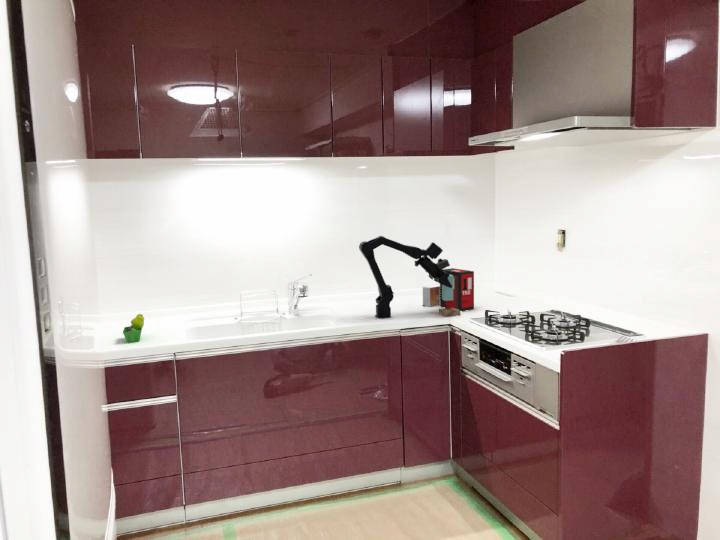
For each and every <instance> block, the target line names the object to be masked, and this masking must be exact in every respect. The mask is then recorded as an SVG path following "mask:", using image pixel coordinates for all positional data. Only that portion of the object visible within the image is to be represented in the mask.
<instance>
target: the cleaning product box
mask: <svg viewBox="0 0 720 540" xmlns="http://www.w3.org/2000/svg"><path fill="white" fill-rule="evenodd" d="M442 270H443V271H442V272H444V271H445V272H447V273H448V274H449V275H450V274H451V275H453V300H449V301H444V300H443V299H442V284H440V283H439V286H440V305H439V307H440V306H441V307H440V308H443V307H445V308H455V309H458V310H460V311H462V312H467V311H466V310H468V311H472V310H475V272H474V270H473V271H472V270H467V269H459V268H452V267H451V268H444V269H442Z"/></svg>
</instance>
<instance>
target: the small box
mask: <svg viewBox="0 0 720 540" xmlns="http://www.w3.org/2000/svg"><path fill="white" fill-rule="evenodd" d="M423 305H425V306H424V307H427V306H429V308H432V307H436V306H435V305H438V306H440V285H434V284H432V285H428V286H423V287H422V306H423ZM431 306H432V307H431Z"/></svg>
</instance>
